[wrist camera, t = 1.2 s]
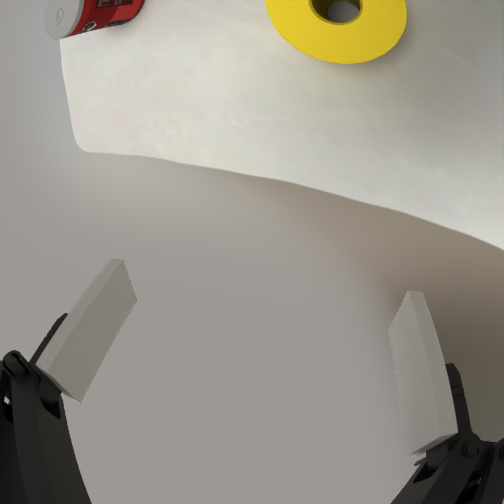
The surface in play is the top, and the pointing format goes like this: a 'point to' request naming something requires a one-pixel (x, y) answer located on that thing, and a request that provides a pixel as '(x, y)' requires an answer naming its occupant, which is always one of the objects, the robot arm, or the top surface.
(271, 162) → the top surface
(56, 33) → the canned food
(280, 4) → the yellow toilet paper roll
